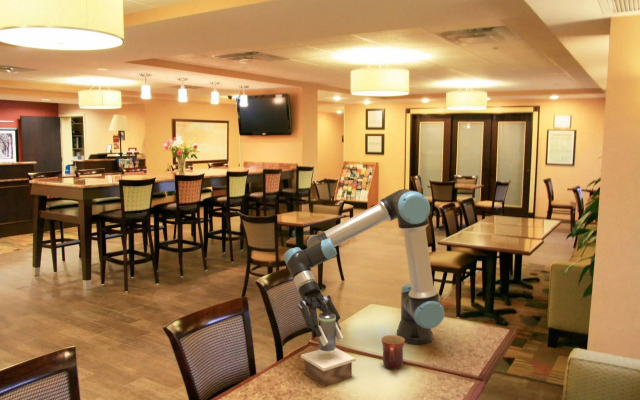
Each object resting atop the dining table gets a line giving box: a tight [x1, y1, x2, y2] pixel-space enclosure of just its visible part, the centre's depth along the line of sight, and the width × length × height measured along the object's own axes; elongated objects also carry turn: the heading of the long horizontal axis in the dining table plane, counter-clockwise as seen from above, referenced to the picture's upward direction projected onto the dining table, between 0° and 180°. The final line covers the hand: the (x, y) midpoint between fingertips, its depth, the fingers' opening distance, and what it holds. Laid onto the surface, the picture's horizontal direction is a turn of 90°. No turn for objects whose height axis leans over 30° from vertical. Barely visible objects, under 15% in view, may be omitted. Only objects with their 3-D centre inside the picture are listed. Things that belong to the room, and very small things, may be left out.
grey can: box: [317, 312, 337, 351], centre depth 183 cm, size 6×6×12 cm
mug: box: [380, 334, 405, 370], centre depth 190 cm, size 12×9×10 cm
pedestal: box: [300, 347, 357, 387], centre depth 184 cm, size 14×14×7 cm
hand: (333, 341), depth 180 cm, fingers closed on grey can, 6 cm apart
